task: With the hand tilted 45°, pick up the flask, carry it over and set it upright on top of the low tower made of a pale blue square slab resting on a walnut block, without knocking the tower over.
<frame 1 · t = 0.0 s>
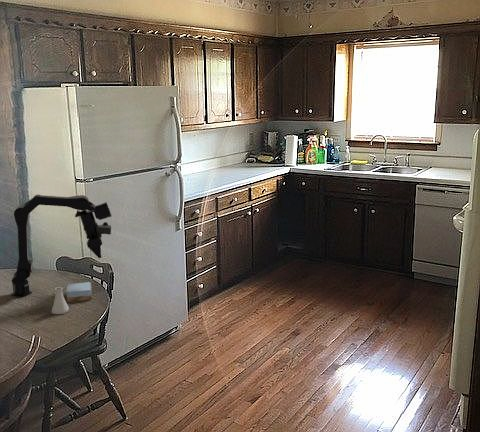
hand: (100, 255, 243), 15 cm above the table, tool pointing down, fingers open, 9 cm apart
flask: (60, 311, 220), on the table
pale blue square slab: (79, 292, 235), point 2 cm above the table
walnut block: (79, 297, 235), on the table
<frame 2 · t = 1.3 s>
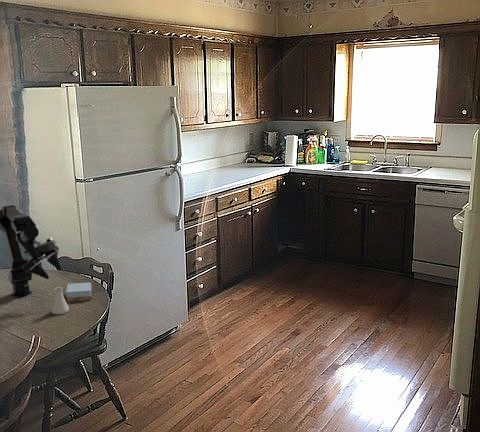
hand: (54, 274, 222), 14 cm above the table, tool tilted 40°, fingers open, 9 cm apart
nothing on the table moved.
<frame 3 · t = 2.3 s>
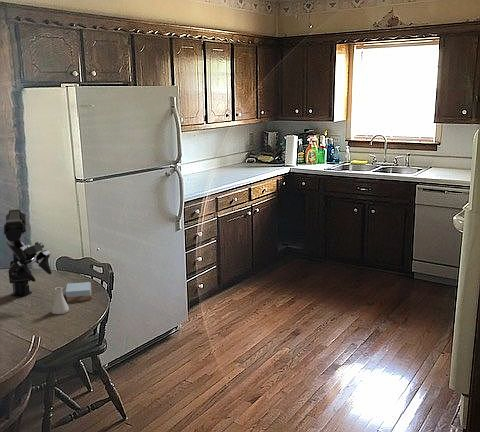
hand: (43, 277, 219), 14 cm above the table, tool tilted 45°, fingers open, 9 cm apart
pale blue square slab: (78, 292, 235), point 2 cm above the table, touching walnut block
walnut block: (79, 297, 235), on the table, touching pale blue square slab
everything else where it was.
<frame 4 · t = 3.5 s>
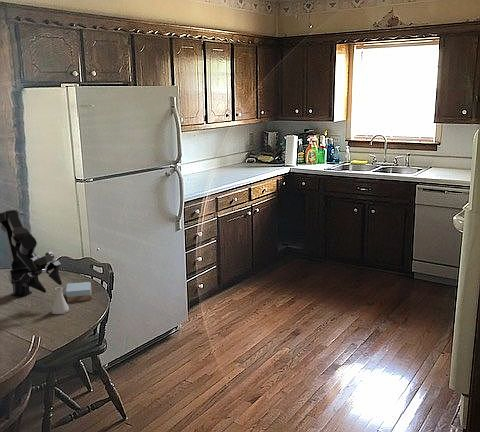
hand: (53, 288, 218), 10 cm above the table, tool tilted 45°, fingers open, 9 cm apart
nothing on the table moved.
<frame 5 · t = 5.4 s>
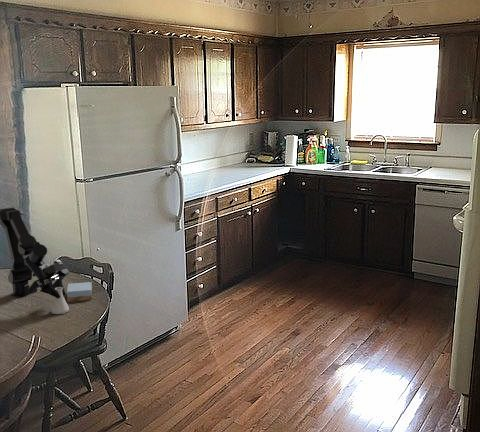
hand: (62, 296, 218), 7 cm above the table, tool tilted 45°, fingers closed on flask, 3 cm apart
flask: (60, 311, 220), on the table, touching gripper
everything else where it was.
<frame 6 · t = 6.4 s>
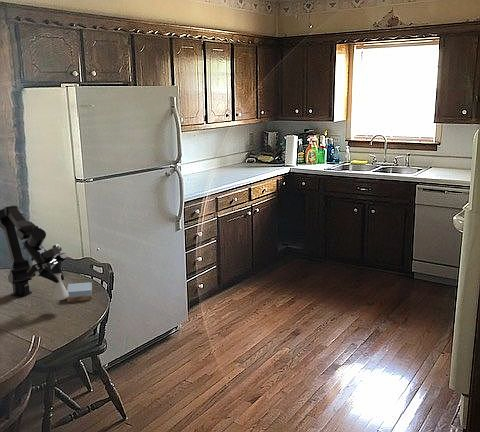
hand: (60, 281, 216), 13 cm above the table, tool tilted 45°, fingers closed on flask, 3 cm apart
flask: (60, 298, 218), point 6 cm above the table, touching gripper
everything else where it was.
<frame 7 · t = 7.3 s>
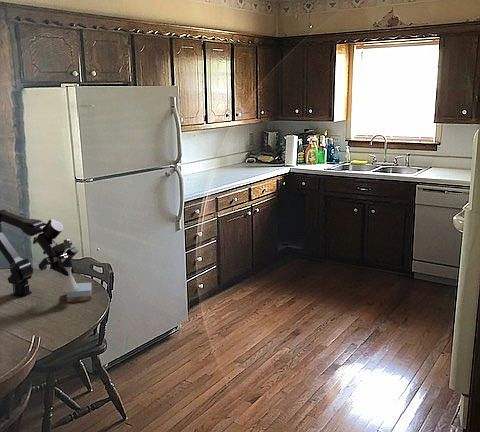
hand: (70, 274, 224), 13 cm above the table, tool tilted 45°, fingers closed on flask, 3 cm apart
flask: (70, 291, 227), point 5 cm above the table, touching gripper
everything else where it was.
when the fingers open (13 cm above the table, at t = 8.9 s): flask stays where it is, resting on pale blue square slab.
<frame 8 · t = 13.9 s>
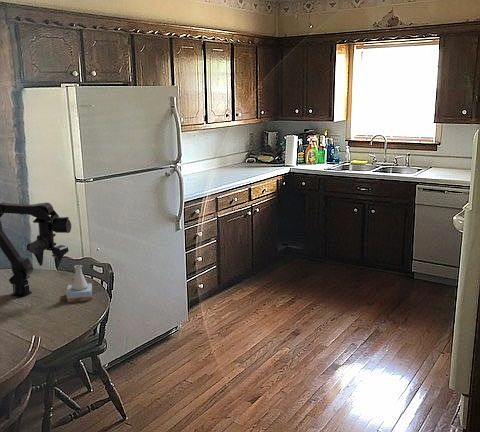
hand: (48, 266, 234), 13 cm above the table, tool pointing down, fingers open, 9 cm apart
flask: (79, 288, 234), point 4 cm above the table, touching pale blue square slab
pale blue square slab: (79, 293, 234), point 2 cm above the table, touching flask, walnut block
everything else where it was.
at the end: flask 0.2 cm off-centre on the pale blue square slab, point 2.3 cm above the pale blue square slab's base; flask tilted 0°; pale blue square slab moved 1.1 cm from its start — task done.
